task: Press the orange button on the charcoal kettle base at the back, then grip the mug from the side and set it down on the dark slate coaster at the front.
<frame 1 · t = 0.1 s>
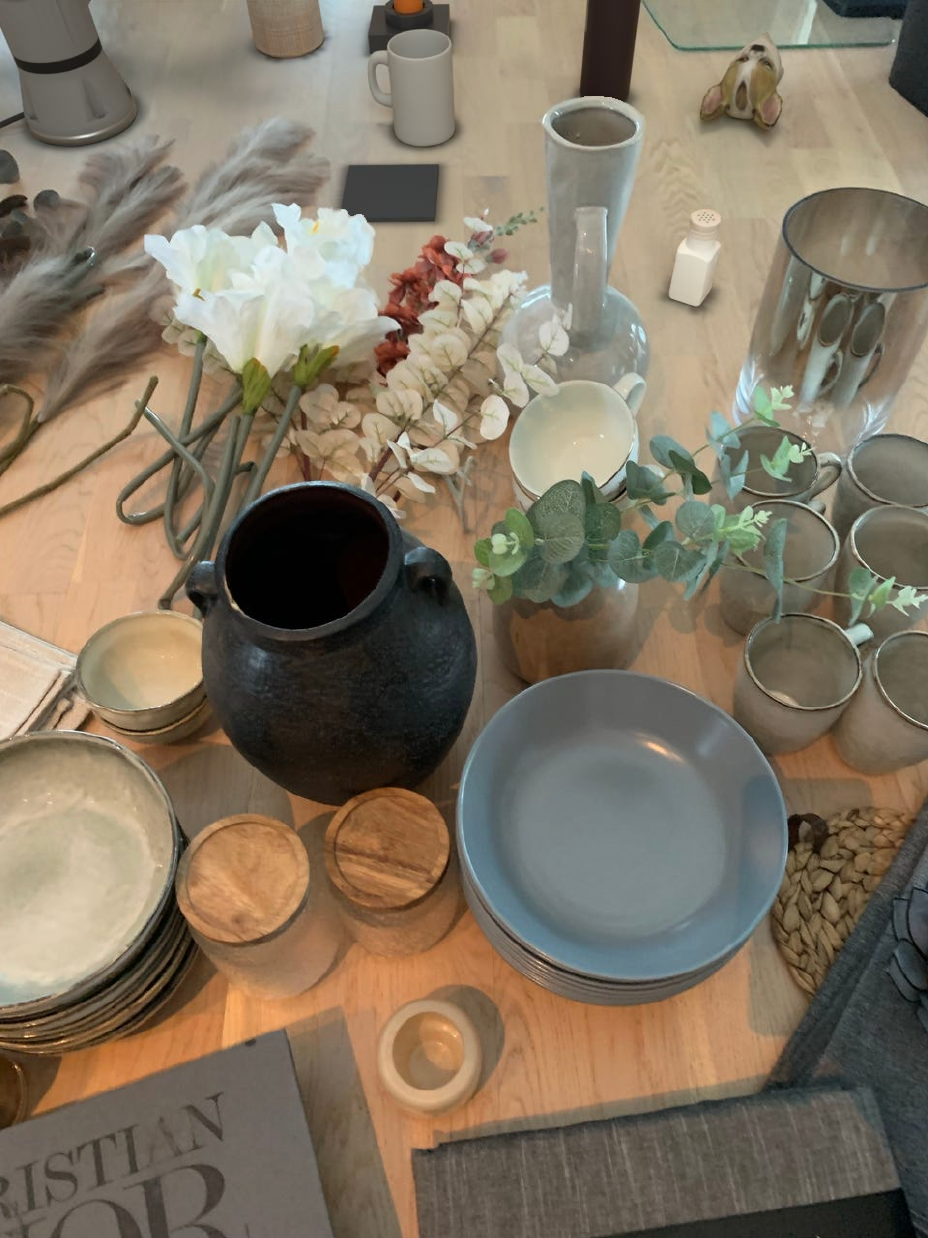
salt shaker: (688, 296, 99), on the table
kettle button: (408, 0, 131), point 5 cm above the table, slide at 0.1 cm
kettle base: (410, 38, 135), on the table
wine bottle: (603, 98, 124), on the table
mug: (413, 130, 120), on the table
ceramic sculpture: (742, 114, 120), on the table
planter: (290, 44, 135), on the table
coaster: (390, 194, 112), on the table
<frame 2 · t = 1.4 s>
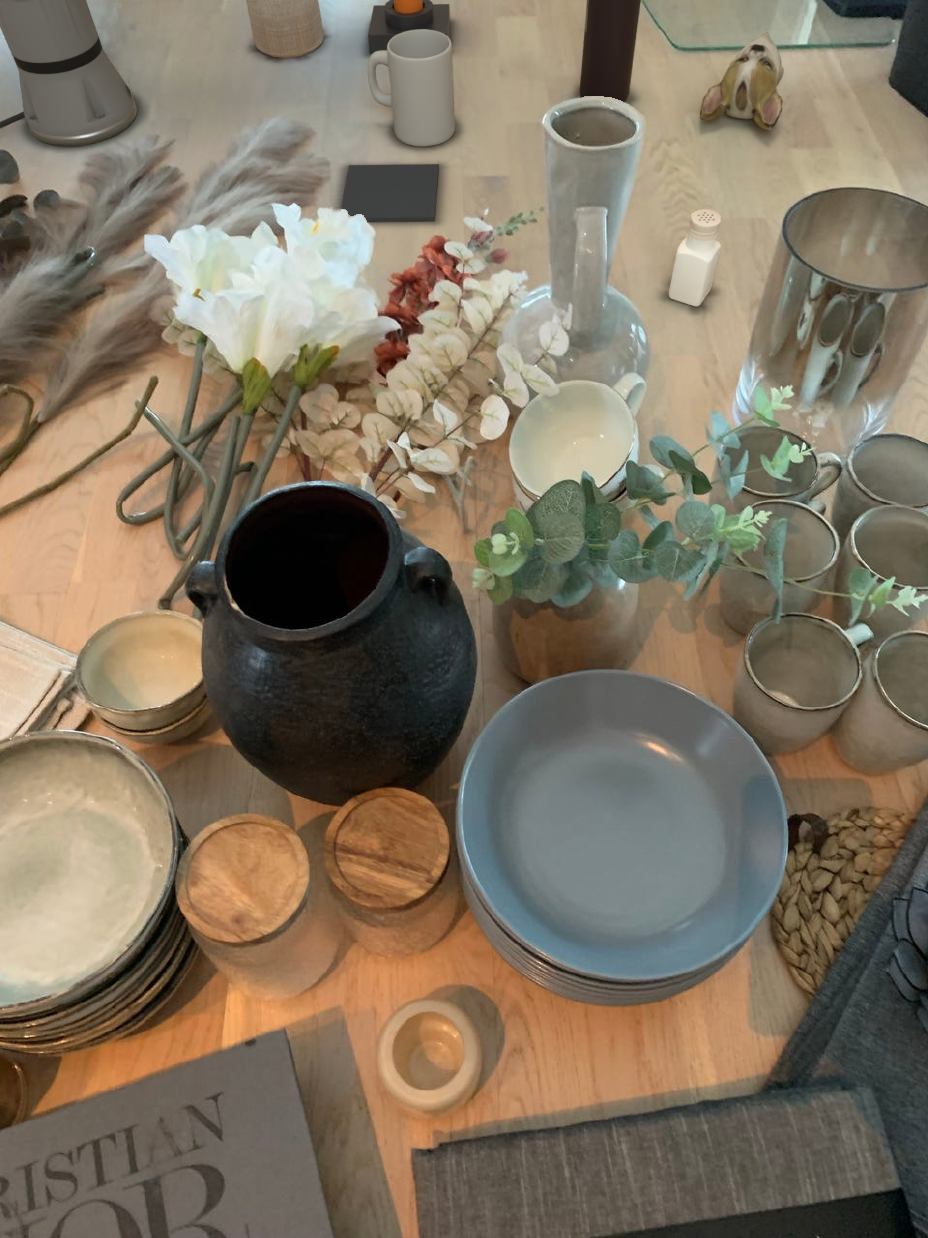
nothing on the table moved.
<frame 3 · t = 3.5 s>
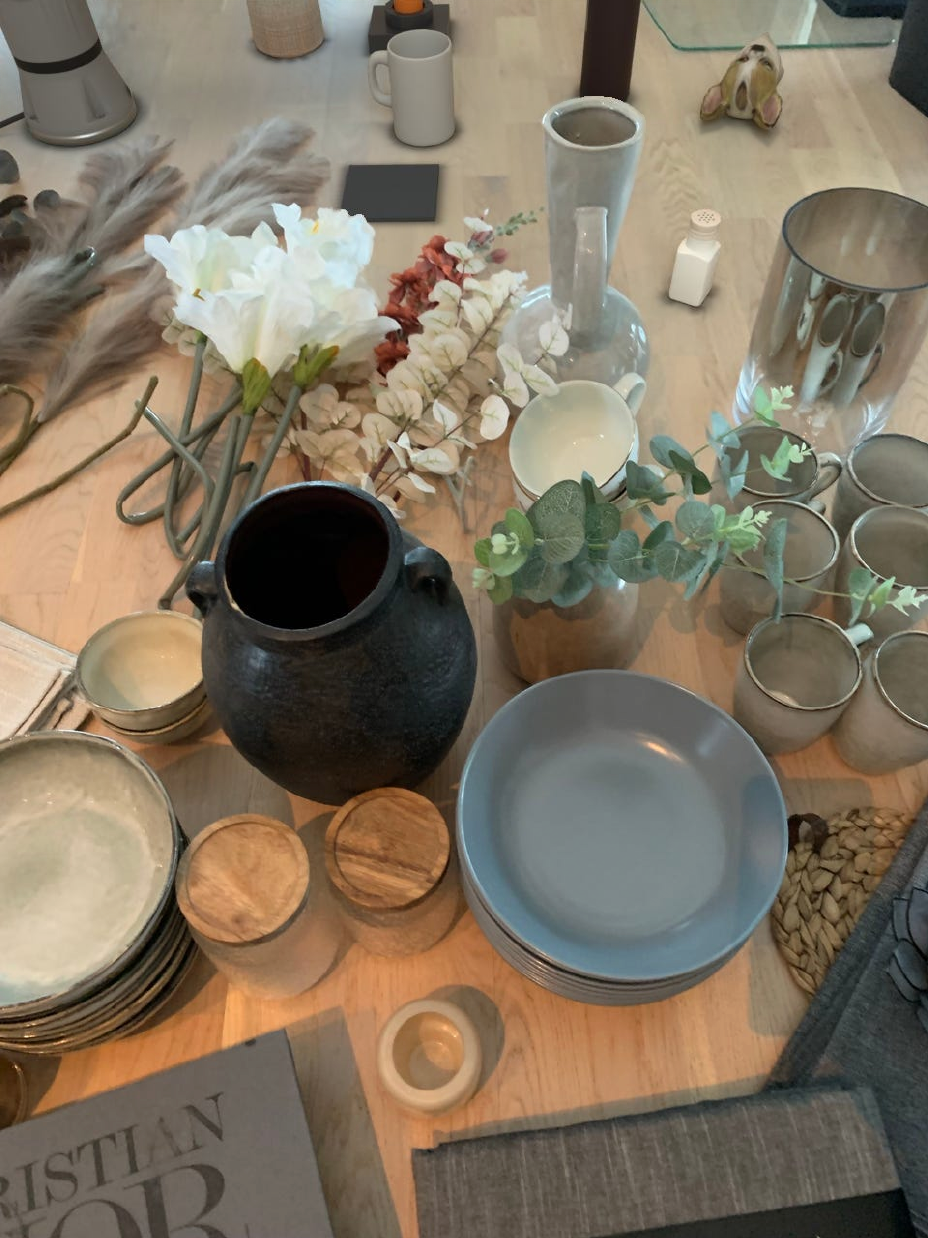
kettle button: (408, 2, 131), point 5 cm above the table, slide at -0.1 cm, touching gripper
everything else where it was.
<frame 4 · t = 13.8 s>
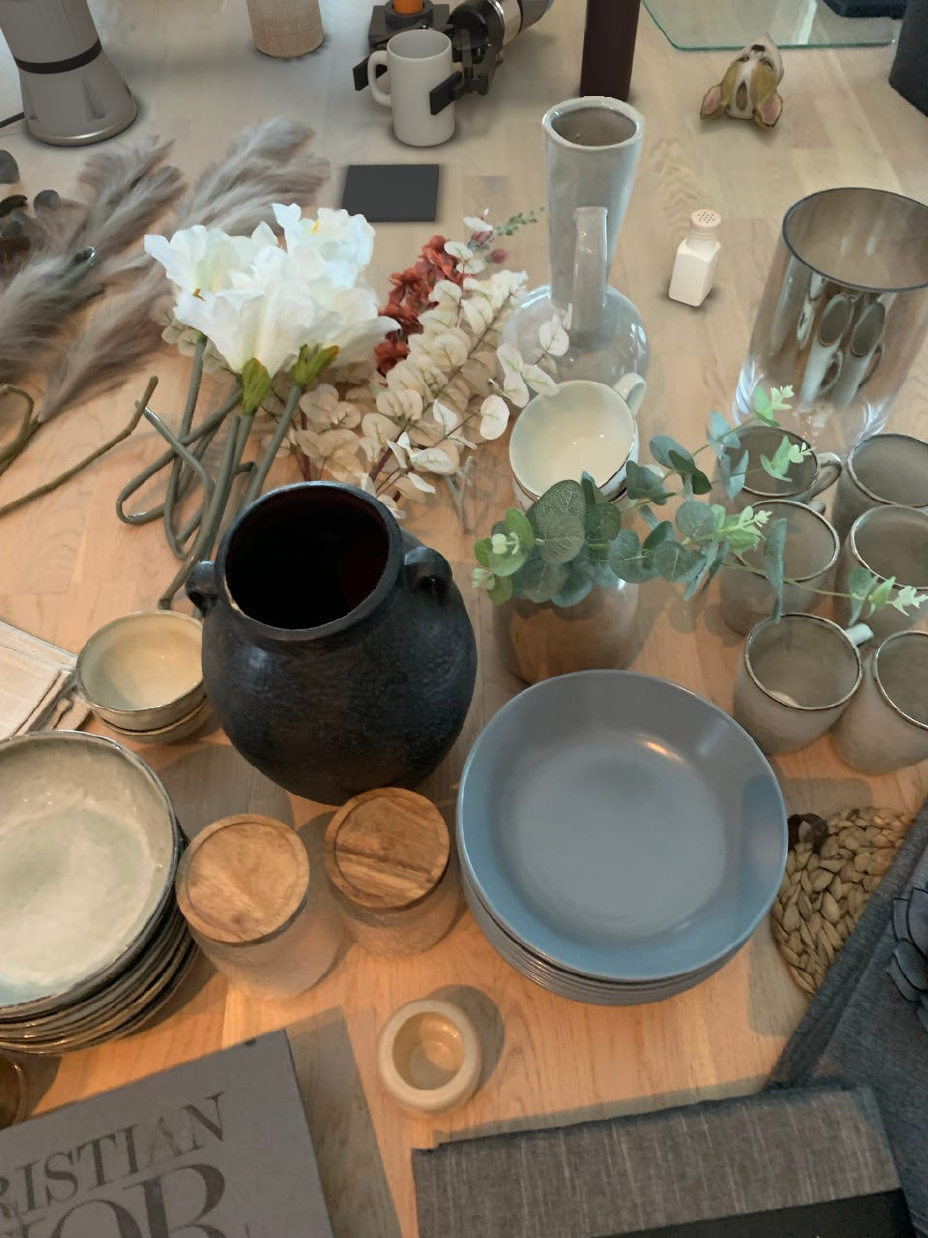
hand: (393, 91, 113), 6 cm above the table, tool horizontal, fingers closed on mug, 12 cm apart
kettle button: (408, 0, 131), point 5 cm above the table, slide at 0.1 cm
mug: (413, 130, 120), on the table, touching gripper
everything else where it was.
when the fingers open (7 cm above the table, at t = 22.2 s): mug stays where it is, resting on coaster.
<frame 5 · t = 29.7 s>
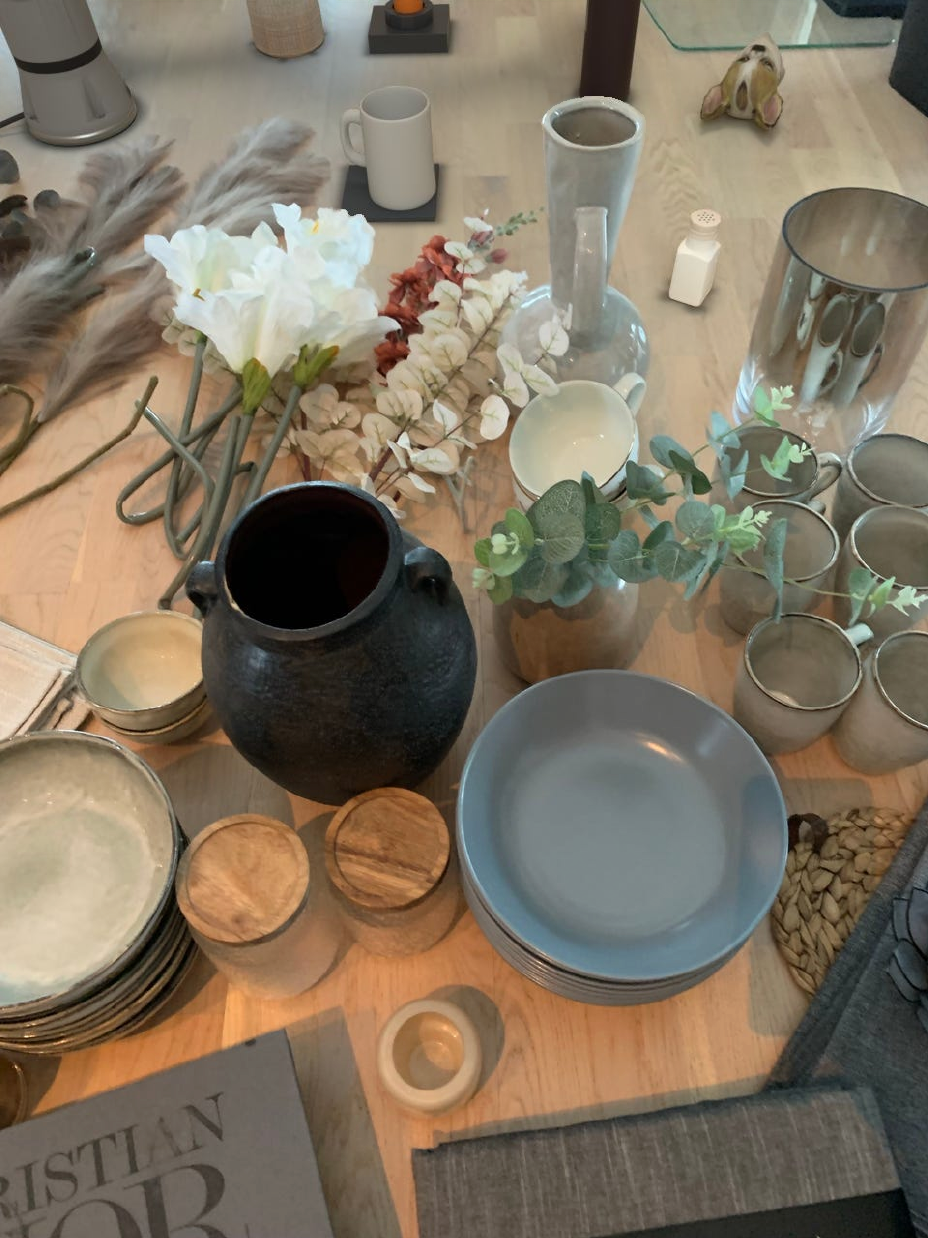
mug: (390, 191, 111), resting on coaster
everything else where it was.
at the end: kettle button pushed in 1.0 cm at the most during the clip, back to where it started at the end; mug inside the target area on the coaster (0.0 cm from its centre), point 0.4 cm above the coaster's base; mug tilted 0° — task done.
